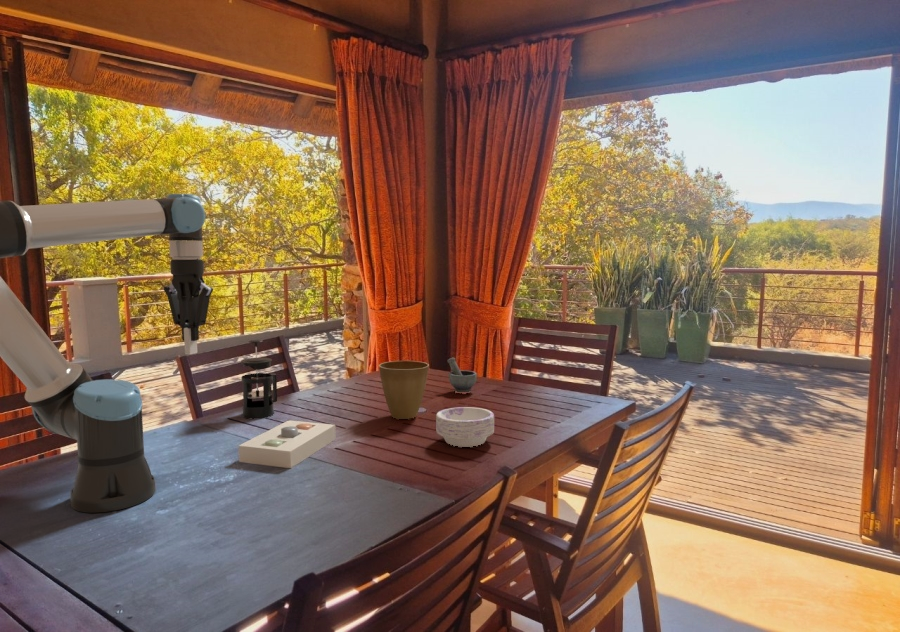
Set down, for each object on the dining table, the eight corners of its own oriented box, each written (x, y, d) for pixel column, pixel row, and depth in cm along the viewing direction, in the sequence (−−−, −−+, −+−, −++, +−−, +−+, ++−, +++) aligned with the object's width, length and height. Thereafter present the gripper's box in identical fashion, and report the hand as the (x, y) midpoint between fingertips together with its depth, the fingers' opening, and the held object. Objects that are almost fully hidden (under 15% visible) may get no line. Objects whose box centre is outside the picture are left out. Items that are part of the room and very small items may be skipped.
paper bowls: (454, 430, 169) (454, 402, 168) (503, 439, 161) (504, 410, 160) (424, 445, 156) (424, 415, 155) (476, 456, 148) (476, 424, 147)
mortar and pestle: (481, 391, 214) (481, 358, 213) (467, 397, 206) (467, 362, 205) (455, 387, 220) (455, 355, 219) (440, 392, 213) (440, 359, 211)
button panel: (290, 468, 139) (290, 451, 139) (239, 461, 143) (238, 445, 143) (335, 439, 160) (335, 424, 160) (289, 434, 164) (288, 420, 164)
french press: (252, 421, 177) (249, 343, 174) (233, 415, 182) (230, 340, 180) (285, 412, 186) (283, 339, 183) (266, 407, 192) (264, 336, 189)
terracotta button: (307, 443, 156) (306, 428, 156) (293, 442, 157) (293, 427, 157) (315, 438, 160) (314, 424, 159) (301, 437, 161) (301, 422, 161)
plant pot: (435, 420, 178) (435, 367, 176) (387, 425, 173) (386, 371, 171) (419, 408, 192) (419, 358, 190) (374, 412, 186) (373, 361, 185)
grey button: (292, 447, 149) (292, 431, 149) (278, 445, 150) (278, 430, 150) (301, 442, 153) (300, 427, 153) (287, 441, 154) (286, 425, 154)
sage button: (276, 461, 143) (276, 445, 142) (262, 460, 144) (261, 443, 143) (286, 456, 147) (285, 440, 146) (271, 454, 148) (271, 438, 147)
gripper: (219, 258, 149) (223, 352, 152) (175, 258, 153) (180, 349, 156) (198, 259, 142) (203, 357, 145) (153, 258, 146) (158, 354, 148)
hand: (191, 353), depth 150 cm, fingers closed
